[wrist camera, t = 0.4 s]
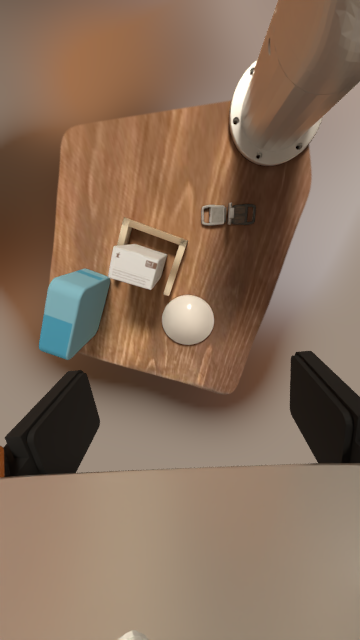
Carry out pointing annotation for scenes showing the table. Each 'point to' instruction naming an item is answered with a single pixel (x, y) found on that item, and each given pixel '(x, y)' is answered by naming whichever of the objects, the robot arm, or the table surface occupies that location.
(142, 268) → the skincare box
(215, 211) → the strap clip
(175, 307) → the ceramic coaster
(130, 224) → the stand
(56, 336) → the data package
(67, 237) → the table surface
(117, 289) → the table surface
